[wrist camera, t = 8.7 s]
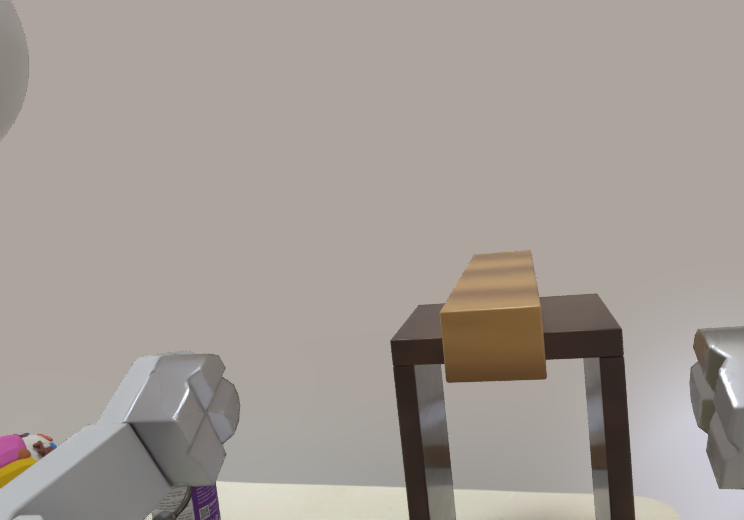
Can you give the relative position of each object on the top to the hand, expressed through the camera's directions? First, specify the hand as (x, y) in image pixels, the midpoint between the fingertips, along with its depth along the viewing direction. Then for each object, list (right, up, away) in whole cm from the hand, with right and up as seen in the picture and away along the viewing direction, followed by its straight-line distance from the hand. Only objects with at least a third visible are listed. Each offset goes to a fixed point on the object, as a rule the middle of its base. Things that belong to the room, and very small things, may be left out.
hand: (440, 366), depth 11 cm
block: (+6, -2, +24) cm, 25 cm away
